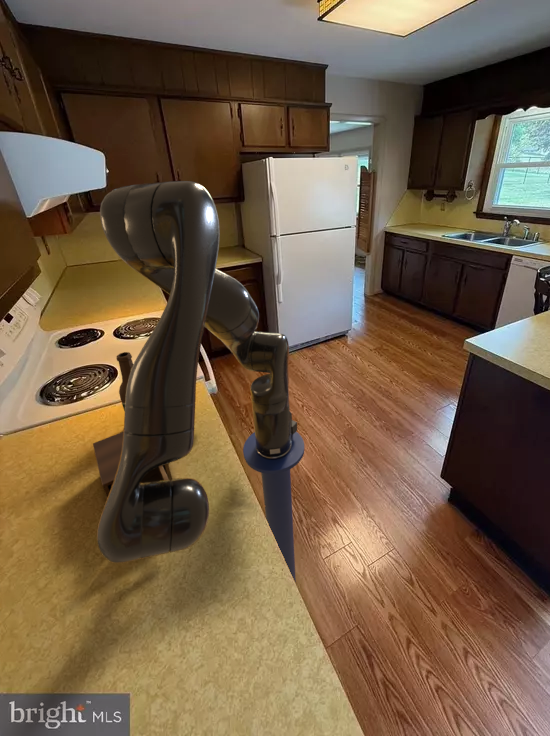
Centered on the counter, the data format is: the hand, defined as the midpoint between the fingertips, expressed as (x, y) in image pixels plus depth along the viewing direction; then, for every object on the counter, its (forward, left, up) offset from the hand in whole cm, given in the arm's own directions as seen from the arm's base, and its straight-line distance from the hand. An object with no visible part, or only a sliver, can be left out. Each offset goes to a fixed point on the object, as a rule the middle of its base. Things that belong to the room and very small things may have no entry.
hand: (149, 506), depth 63 cm
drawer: (-2, -5, -8) cm, 9 cm away
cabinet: (-6, -16, -9) cm, 19 cm away
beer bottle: (-18, -32, -9) cm, 38 cm away
